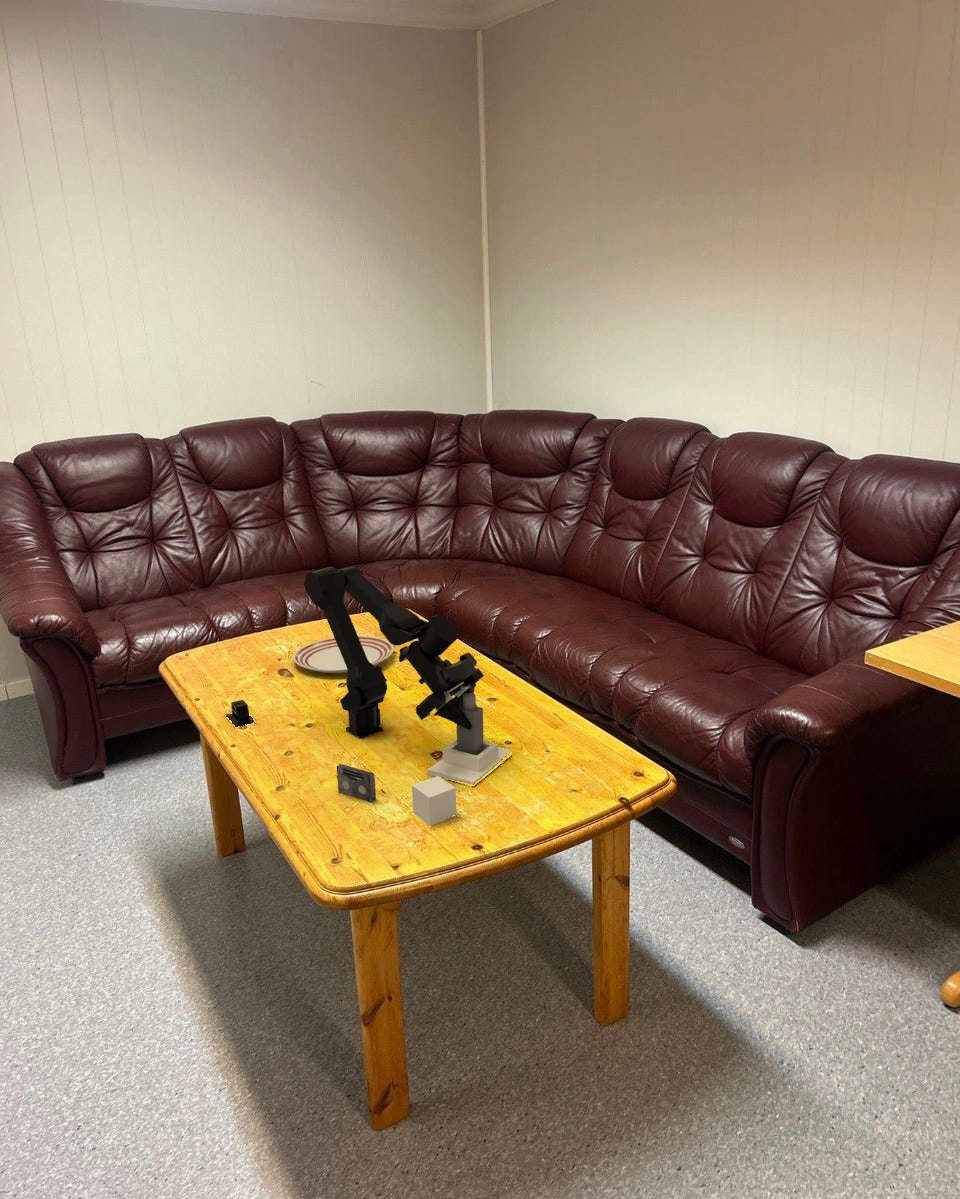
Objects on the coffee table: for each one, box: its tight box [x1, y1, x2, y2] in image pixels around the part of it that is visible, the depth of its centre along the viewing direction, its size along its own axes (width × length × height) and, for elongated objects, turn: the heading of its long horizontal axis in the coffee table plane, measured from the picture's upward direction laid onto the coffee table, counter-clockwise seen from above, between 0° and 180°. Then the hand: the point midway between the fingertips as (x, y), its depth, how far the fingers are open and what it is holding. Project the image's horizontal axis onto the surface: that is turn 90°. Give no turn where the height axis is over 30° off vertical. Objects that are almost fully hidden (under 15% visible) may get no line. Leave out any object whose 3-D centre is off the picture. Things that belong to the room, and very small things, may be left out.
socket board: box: [427, 739, 512, 785], centre depth 195 cm, size 11×16×4 cm
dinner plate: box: [292, 635, 395, 674], centre depth 255 cm, size 28×27×3 cm
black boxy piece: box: [225, 699, 255, 728], centre depth 220 cm, size 12×7×5 cm, turn 31°
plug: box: [456, 693, 484, 755], centre depth 193 cm, size 4×3×13 cm
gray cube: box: [411, 776, 457, 827], centre depth 176 cm, size 6×6×6 cm
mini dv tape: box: [336, 763, 377, 803], centre depth 183 cm, size 8×2×6 cm, turn 59°
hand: (475, 725), depth 192 cm, fingers closed on plug, 3 cm apart
